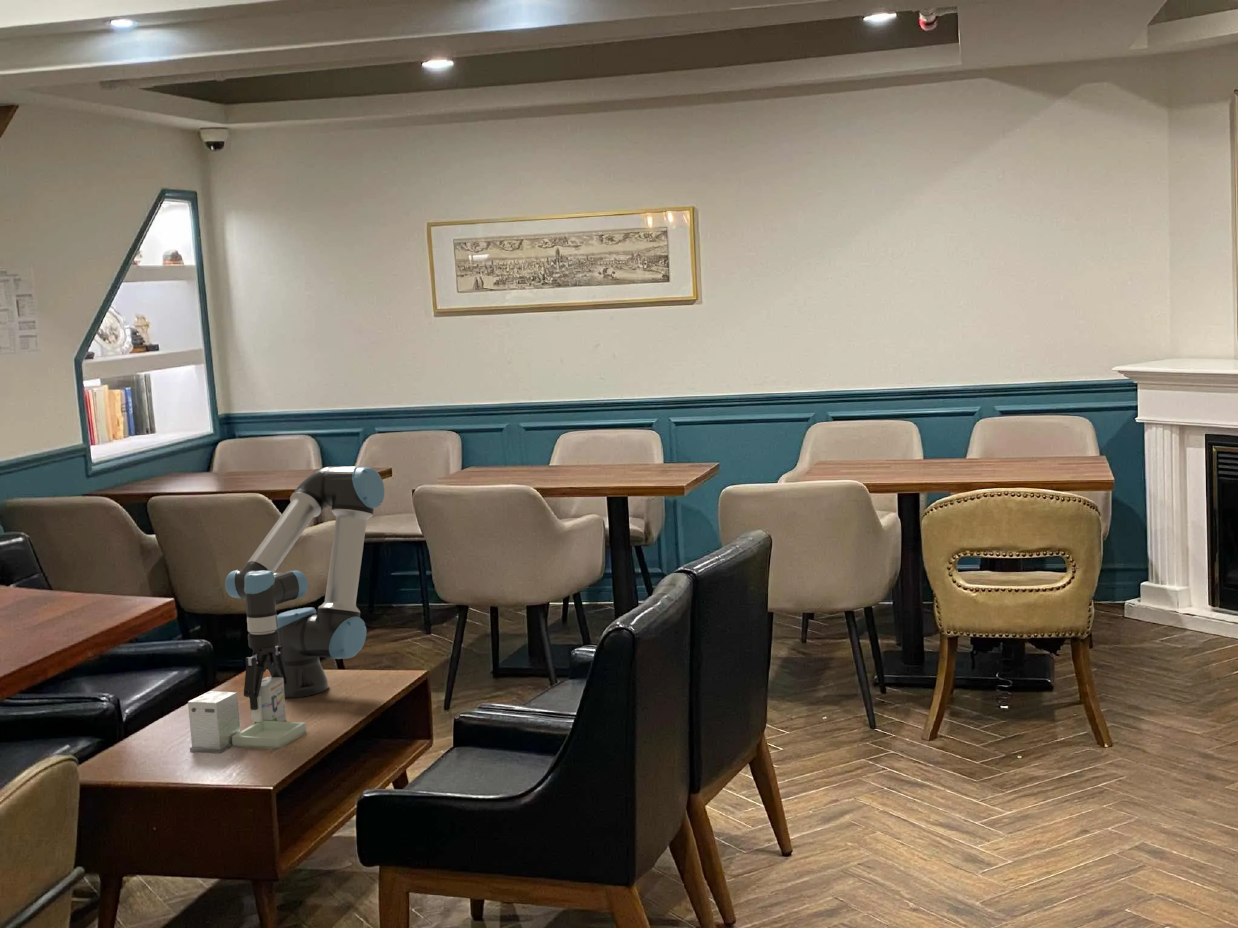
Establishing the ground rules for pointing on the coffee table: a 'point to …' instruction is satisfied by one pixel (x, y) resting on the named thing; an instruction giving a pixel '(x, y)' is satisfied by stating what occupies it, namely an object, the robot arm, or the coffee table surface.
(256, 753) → the coffee table surface
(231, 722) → the unit
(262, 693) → the ink box
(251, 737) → the tray
